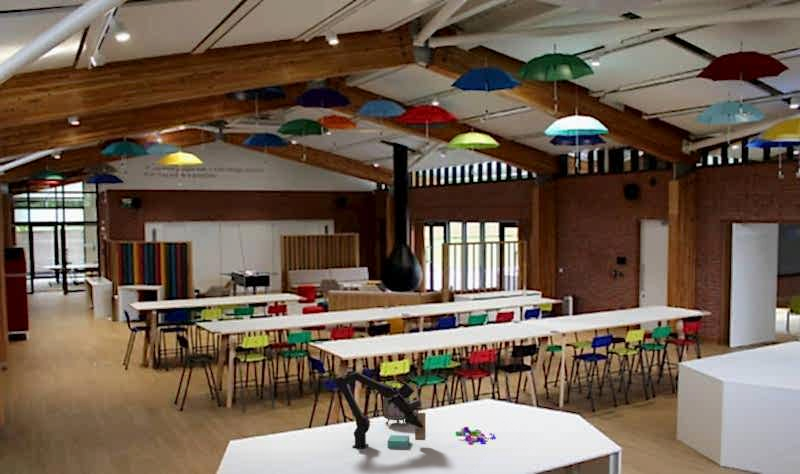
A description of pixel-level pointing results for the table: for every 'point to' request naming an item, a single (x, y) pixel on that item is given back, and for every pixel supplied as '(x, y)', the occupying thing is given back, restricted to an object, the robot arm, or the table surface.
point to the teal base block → (398, 441)
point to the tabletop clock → (393, 410)
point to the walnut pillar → (420, 431)
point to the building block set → (470, 438)
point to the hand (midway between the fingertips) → (422, 425)
